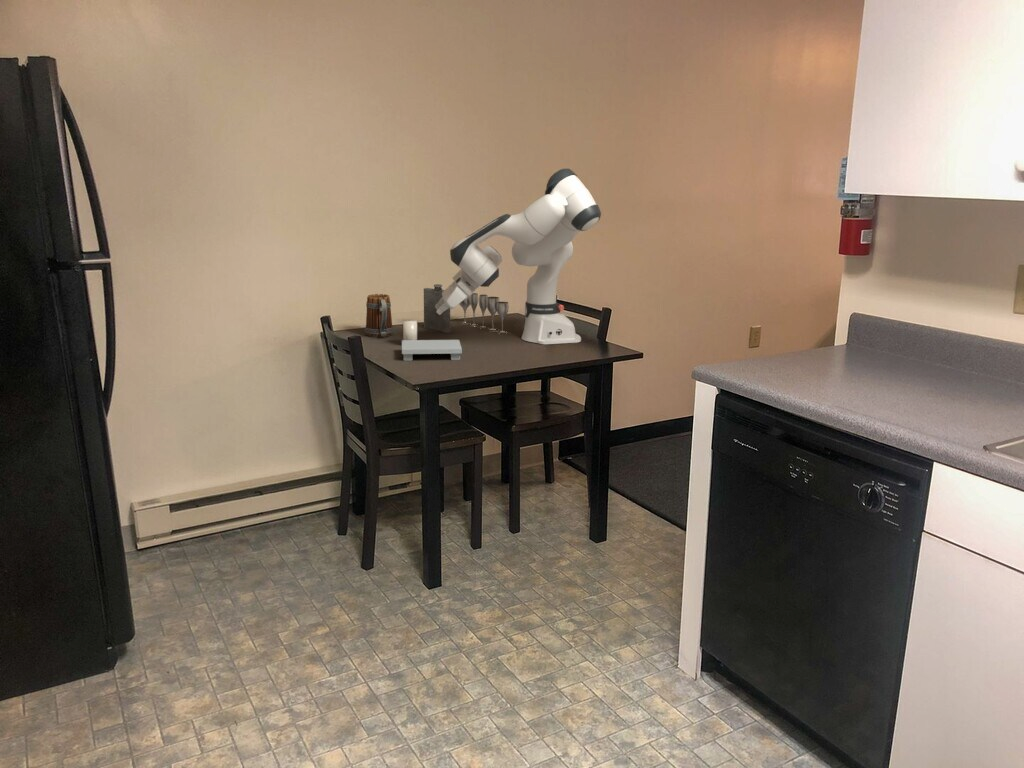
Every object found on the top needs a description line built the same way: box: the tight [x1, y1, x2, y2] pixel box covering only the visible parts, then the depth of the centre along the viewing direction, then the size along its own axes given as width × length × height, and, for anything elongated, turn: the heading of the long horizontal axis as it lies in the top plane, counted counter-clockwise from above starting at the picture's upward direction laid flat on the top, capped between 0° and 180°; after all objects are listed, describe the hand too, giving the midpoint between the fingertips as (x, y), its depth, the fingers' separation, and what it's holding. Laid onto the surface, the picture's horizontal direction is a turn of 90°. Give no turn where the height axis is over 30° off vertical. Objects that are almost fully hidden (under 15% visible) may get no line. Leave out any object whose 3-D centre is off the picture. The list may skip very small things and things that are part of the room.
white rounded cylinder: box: [402, 319, 418, 340], centre depth 291 cm, size 5×5×9 cm
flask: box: [423, 283, 451, 334], centre depth 316 cm, size 4×14×18 cm, turn 46°
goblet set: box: [458, 292, 510, 332], centre depth 323 cm, size 28×6×13 cm, turn 43°
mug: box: [364, 293, 394, 338], centre depth 304 cm, size 16×11×15 cm
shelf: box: [401, 339, 463, 362], centre depth 277 cm, size 20×14×4 cm
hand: (437, 310), depth 289 cm, fingers open, 8 cm apart
